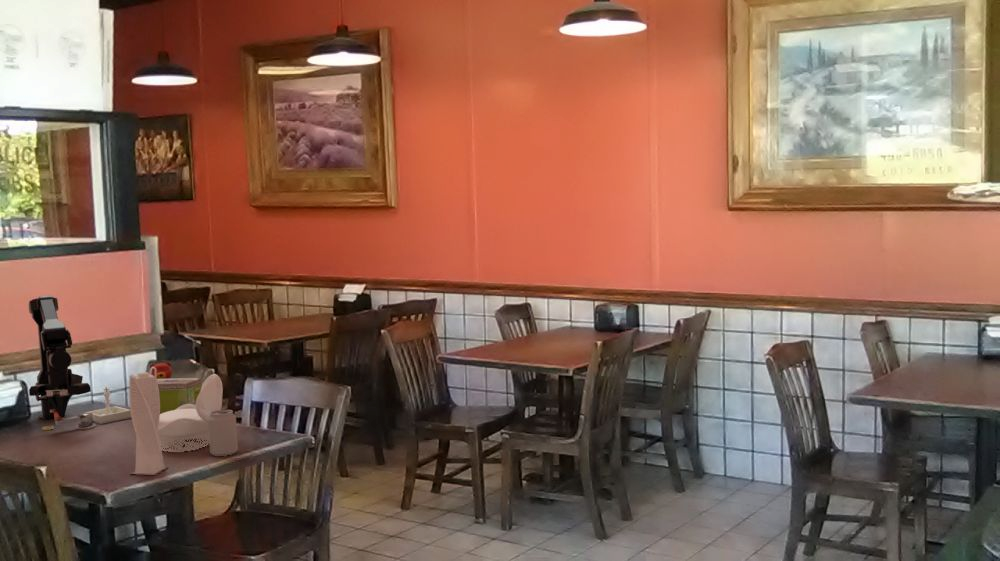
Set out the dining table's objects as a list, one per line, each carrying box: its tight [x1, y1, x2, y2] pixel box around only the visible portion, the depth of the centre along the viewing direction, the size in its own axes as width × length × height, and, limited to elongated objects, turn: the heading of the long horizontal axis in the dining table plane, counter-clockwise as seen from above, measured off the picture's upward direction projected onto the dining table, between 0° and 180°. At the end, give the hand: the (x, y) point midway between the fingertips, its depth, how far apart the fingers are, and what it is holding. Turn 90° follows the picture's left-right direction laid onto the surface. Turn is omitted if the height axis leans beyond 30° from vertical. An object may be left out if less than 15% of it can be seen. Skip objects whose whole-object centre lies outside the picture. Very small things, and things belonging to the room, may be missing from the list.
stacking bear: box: [149, 362, 173, 379], centre depth 338 cm, size 11×10×18 cm
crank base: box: [74, 422, 98, 430], centre depth 329 cm, size 6×6×1 cm
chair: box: [157, 373, 224, 453], centre depth 299 cm, size 20×20×20 cm
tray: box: [84, 405, 132, 425], centre depth 339 cm, size 11×11×2 cm
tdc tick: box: [41, 425, 54, 431], centre depth 327 cm, size 3×1×1 cm, turn 97°
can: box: [207, 409, 239, 457], centre depth 288 cm, size 8×8×12 cm
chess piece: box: [101, 386, 112, 416], centre depth 339 cm, size 5×5×10 cm
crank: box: [50, 409, 94, 426], centre depth 326 cm, size 12×4×7 cm, turn 130°
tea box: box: [157, 377, 204, 414], centre depth 323 cm, size 15×10×15 cm, turn 80°
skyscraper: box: [128, 367, 169, 476], centre depth 271 cm, size 8×8×28 cm
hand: (62, 417), depth 322 cm, fingers closed
